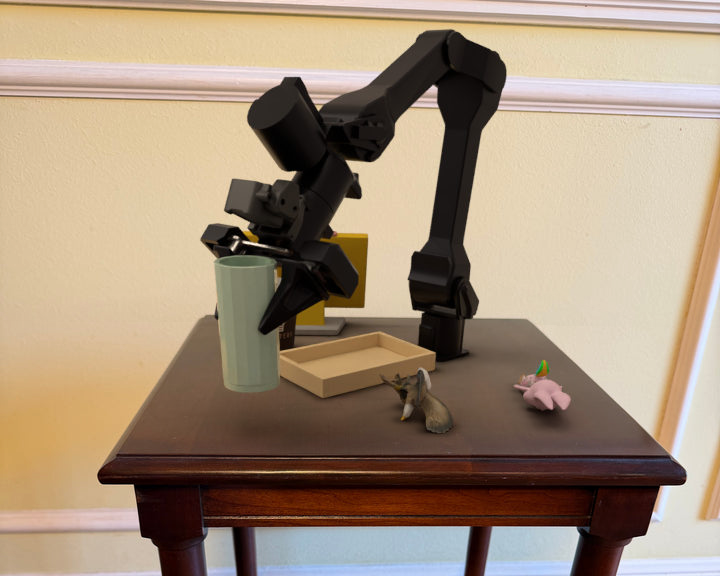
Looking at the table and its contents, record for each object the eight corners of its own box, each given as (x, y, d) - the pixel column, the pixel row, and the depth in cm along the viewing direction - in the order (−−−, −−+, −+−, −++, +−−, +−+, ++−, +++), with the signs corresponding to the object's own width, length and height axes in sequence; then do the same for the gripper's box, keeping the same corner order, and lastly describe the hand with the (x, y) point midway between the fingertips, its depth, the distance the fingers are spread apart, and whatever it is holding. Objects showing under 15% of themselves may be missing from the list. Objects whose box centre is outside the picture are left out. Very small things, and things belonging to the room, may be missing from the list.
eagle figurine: (365, 404, 83) (406, 417, 75) (389, 350, 82) (433, 358, 75) (410, 428, 87) (453, 442, 79) (433, 376, 87) (479, 386, 79)
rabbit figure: (505, 395, 93) (529, 422, 79) (509, 352, 91) (535, 371, 77) (551, 397, 93) (583, 424, 79) (556, 353, 91) (590, 373, 77)
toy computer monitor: (363, 322, 118) (366, 227, 111) (366, 336, 112) (369, 235, 104) (247, 321, 117) (242, 224, 110) (243, 334, 110) (237, 232, 103)
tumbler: (262, 369, 79) (256, 253, 73) (291, 385, 75) (287, 263, 68) (213, 380, 76) (203, 259, 69) (241, 397, 71) (232, 270, 65)
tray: (379, 347, 106) (379, 331, 105) (434, 370, 98) (436, 352, 97) (271, 370, 96) (270, 352, 94) (322, 398, 87) (322, 379, 86)
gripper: (206, 141, 72) (130, 264, 69) (342, 151, 62) (258, 296, 59) (264, 214, 81) (198, 325, 79) (390, 233, 71) (319, 361, 68)
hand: (238, 326), depth 71 cm, fingers closed on tumbler, 6 cm apart
